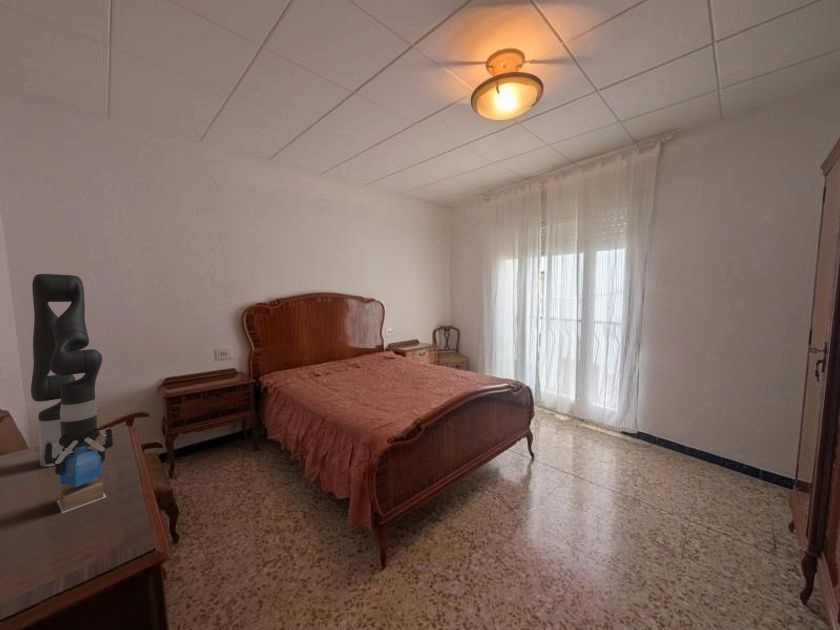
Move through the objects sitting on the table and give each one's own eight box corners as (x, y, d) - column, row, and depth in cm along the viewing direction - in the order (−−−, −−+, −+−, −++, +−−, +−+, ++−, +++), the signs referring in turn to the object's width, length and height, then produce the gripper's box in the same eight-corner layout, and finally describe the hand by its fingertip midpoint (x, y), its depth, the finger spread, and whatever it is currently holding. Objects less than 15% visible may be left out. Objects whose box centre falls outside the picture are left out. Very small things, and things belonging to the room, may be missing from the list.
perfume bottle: (76, 487, 92) (74, 447, 92) (60, 484, 94) (59, 444, 93) (101, 475, 98) (100, 438, 98) (86, 473, 100) (85, 436, 99)
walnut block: (60, 500, 95) (59, 487, 95) (97, 488, 102) (97, 476, 102) (64, 511, 91) (64, 497, 91) (103, 497, 97) (103, 484, 97)
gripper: (108, 406, 103) (110, 455, 104) (40, 420, 91) (42, 474, 92) (114, 411, 99) (116, 462, 100) (44, 426, 87) (46, 483, 88)
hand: (80, 468), depth 96 cm, fingers closed on perfume bottle, 8 cm apart
